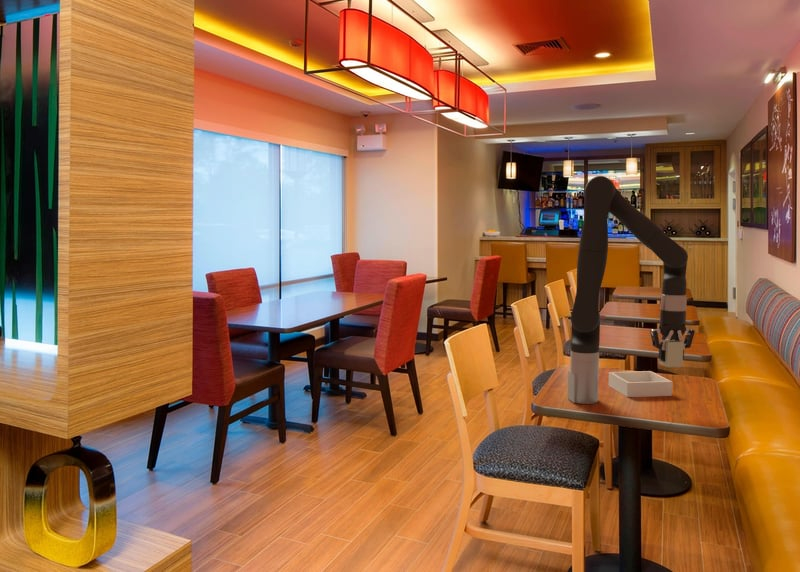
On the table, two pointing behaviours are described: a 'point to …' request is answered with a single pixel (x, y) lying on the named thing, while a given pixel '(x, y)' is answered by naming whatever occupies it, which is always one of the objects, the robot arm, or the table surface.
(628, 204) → the robot arm
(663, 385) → the serving bin
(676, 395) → the table surface
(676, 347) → the cream block
